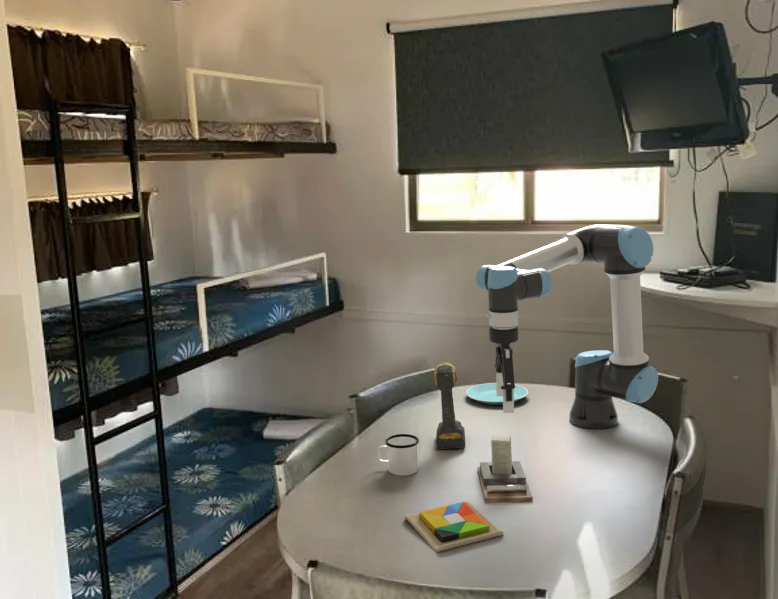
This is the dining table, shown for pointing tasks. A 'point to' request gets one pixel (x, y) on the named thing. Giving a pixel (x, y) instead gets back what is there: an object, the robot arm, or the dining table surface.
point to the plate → (493, 393)
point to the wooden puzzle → (452, 526)
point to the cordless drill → (448, 409)
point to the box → (501, 455)
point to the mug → (401, 454)
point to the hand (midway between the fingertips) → (505, 403)
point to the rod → (506, 488)
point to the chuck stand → (503, 483)
